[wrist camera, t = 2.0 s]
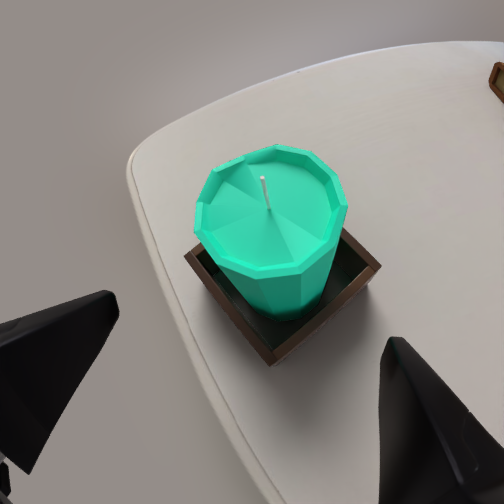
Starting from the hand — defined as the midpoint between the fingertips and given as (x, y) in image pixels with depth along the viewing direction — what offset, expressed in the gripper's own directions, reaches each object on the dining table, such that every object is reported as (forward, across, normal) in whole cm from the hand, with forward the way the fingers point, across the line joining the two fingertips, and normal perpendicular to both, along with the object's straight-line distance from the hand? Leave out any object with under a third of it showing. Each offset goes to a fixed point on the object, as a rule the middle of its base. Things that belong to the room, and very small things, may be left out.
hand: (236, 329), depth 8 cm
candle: (+12, 0, +5) cm, 12 cm away
